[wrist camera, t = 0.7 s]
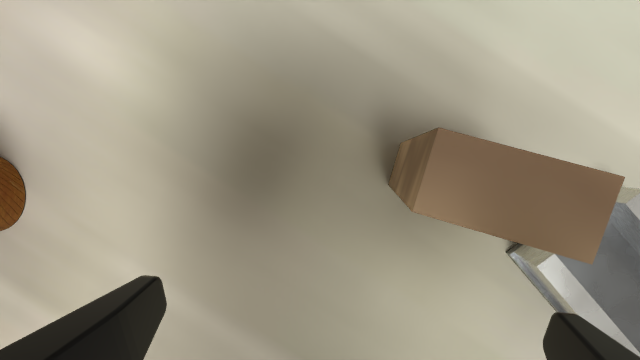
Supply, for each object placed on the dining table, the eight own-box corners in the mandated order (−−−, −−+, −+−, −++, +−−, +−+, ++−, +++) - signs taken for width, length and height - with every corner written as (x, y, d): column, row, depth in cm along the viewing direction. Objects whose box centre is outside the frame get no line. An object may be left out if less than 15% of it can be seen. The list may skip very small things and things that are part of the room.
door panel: (474, 209, 23) (592, 264, 11) (388, 184, 24) (412, 211, 12) (488, 167, 23) (625, 176, 11) (400, 142, 23) (438, 127, 11)
